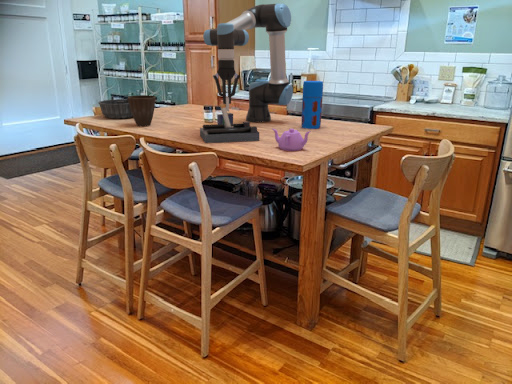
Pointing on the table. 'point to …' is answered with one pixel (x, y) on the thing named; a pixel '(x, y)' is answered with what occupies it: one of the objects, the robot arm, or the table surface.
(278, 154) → the table surface
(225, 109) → the lever
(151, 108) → the plant pot
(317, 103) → the thermos
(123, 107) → the bundt pan
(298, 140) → the teapot
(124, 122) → the table surface
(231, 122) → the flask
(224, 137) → the tray
